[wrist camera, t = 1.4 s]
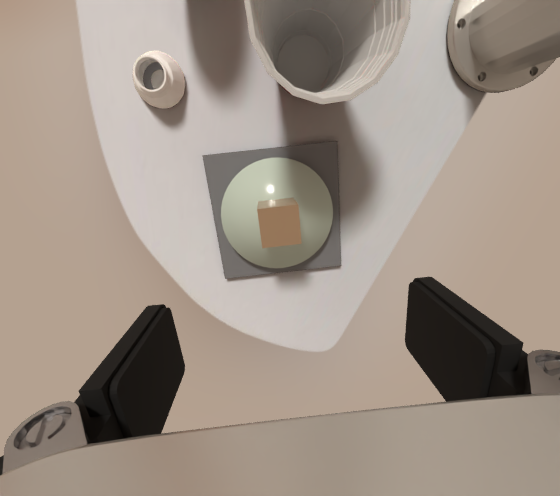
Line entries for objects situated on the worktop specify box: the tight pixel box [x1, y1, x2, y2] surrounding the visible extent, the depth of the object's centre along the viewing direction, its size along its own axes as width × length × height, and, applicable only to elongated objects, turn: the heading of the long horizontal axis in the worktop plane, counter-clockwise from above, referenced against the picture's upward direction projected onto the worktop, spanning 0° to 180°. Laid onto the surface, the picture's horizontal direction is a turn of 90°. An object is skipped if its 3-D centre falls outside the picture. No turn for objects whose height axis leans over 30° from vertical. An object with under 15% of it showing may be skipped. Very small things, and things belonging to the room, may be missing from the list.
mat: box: [203, 141, 341, 279], centre depth 32 cm, size 15×15×1 cm
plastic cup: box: [244, 0, 410, 104], centre depth 22 cm, size 11×11×12 cm
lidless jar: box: [133, 51, 185, 109], centre depth 26 cm, size 5×3×5 cm
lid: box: [221, 157, 333, 268], centre depth 29 cm, size 13×13×6 cm
